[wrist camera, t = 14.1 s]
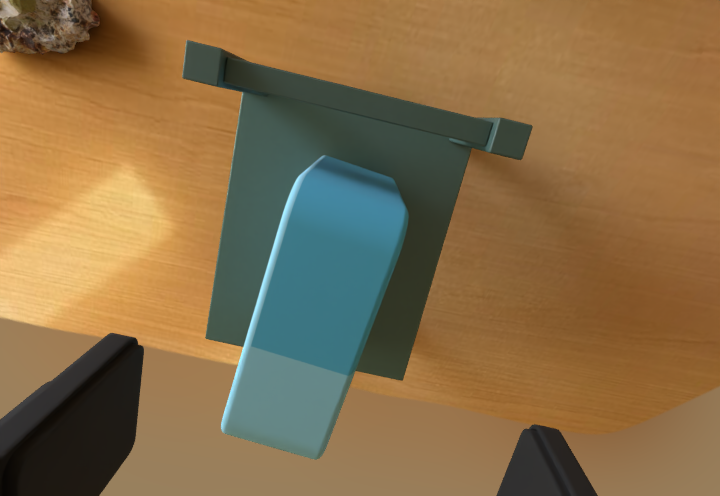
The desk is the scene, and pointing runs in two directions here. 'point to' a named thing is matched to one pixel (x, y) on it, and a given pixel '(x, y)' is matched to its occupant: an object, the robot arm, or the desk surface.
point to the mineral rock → (45, 25)
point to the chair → (349, 144)
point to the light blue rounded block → (316, 306)
